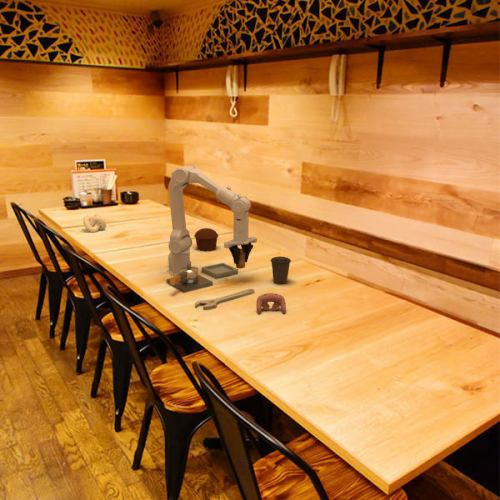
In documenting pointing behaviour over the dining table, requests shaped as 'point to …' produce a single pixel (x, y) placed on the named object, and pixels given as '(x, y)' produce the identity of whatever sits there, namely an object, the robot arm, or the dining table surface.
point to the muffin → (206, 239)
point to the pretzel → (94, 223)
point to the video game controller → (270, 297)
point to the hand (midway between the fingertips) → (240, 262)
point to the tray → (219, 270)
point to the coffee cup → (280, 269)
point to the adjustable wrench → (222, 299)
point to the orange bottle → (241, 260)
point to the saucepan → (186, 275)
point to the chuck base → (191, 284)
